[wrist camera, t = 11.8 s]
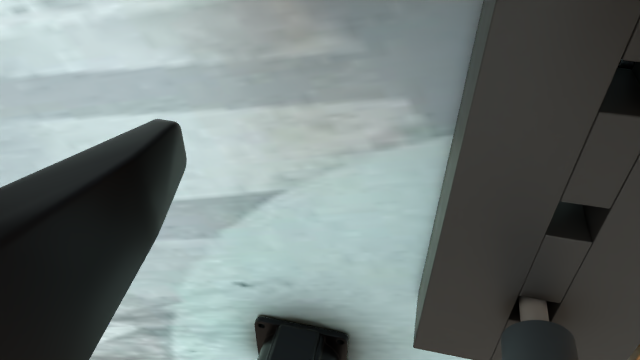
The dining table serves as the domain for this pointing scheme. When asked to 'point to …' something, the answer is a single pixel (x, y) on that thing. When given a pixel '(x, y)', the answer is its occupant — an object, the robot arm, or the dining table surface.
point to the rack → (541, 183)
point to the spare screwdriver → (537, 335)
